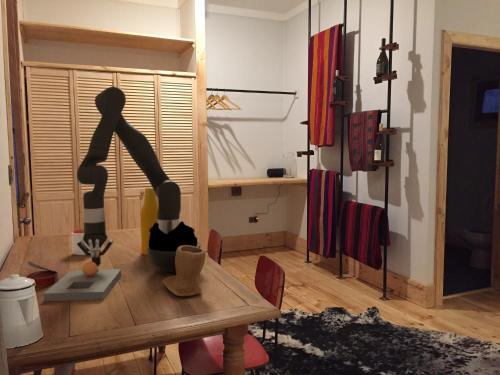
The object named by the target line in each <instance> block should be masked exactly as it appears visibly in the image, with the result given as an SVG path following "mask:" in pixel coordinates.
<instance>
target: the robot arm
mask: <svg viewBox="0 0 500 375" xmlns="http://www.w3.org/2000/svg"><path fill="white" fill-rule="evenodd" d="M126 100H127V98H126V94H125V92H124V91H123V90H122V89H121V88H120V87H117V86H110V87H107V88H105V89H104V90H102V91H101V92H100V93H98V94H97V95H96V96H95V98H94V104H95V107H96V109H97V111H98V113H100V115H101V118H100V120H99V121H98V124H97V126H96V127H95V129H94V132H93V134H92V137H91V138H90V139H91V140H90V143H89V146H88V148H87V149H88V151H87V153H86V154H85V156H84V158H83V160H81V163H80V164H79V166H78V168H77V171H76V178H77V180H78V182H79V183H80V184H82V185H85V186H87V185H89V186H90V185H91V186H93V189H92V190H90V191H89V190H88V191H85V192H84V193H83V195H82V196H83V199H82V201H83V202H82V203H83V213H82V214H83V215H82V216H83V217H82V222H83V229H84V236H83V240H81V241H80V242H78V243H77V245H78V246H79V247H80V249H81V250H82V251H83V252H84V253H85V254H86V255H85V256H89V257H90V258H91V262H94V263H96V265H97V267H99V266H101V264H102V261H101V257H102V256H104V255H105V254H106V253H107V252H108V250H109V249H110V248H111V246H112V245H113V244H114V240H111V239H110V238H109V237H108V235H107V230H106V228H107V227H106V226H107V225H106V224H107V223H106V211H105V192H106V188H107V184H108V179H109V172H108V169H107V168H106V166H104V165H99V164H101V163H105V162H106V161H107V159H108V156H109V151H110V149H111V143H112V140H113V136H114V133H115V135H116V136H117V138H118V139H119V141H120V142H121V143H122V145H123V146H124V147H125V149H126V151H127V153H128V154H129V155H130V157H131V158H132V160H133V161H134V163H135V164H136V165H137V167H138V168H139V169H140V171H141V172H142V173H143V175H145V177H146V178H147V180H148V182H149V184H150V186H151V188H153V190H154V192H155V194H156V198H157V203H158V213H157V223H159V229H160V230H161V231H163V232H164V233H165V234H168V233H169V232H170V231H172V230H173V229H175V228H176V227H177V225H179V223H180V222H181V219H180V218H181V209H182V208H181V207H182V201H181V200H182V194H181V193H182V192H181V188H180V186H179V185H178V183H176V182H175V181H172V180H171V179H170V177H169V176H168V175H167V173H166V172H165V171H164V169H163V167H162V166H161V163H160V161H159V159H158V156H157V154H156V152H155V150H154V148H153V146H152V144H151V142H150V141H149V140H148V138H147V137H146V135H145V134H144V133H143V132H141V130H139V129H138V128H136V127H134V125H132V124H131V123H129V121H127V119H126V118H125V117H124V115H123V114H122V112H123V111H124V108H125V105H126V103H127V102H126ZM85 243H86V244H87V245H88V246H89V248H90V250H89V249H88V248H87V246H86V245H85ZM104 244H105V246H104V248H103V249H102V246H103V245H104Z"/></svg>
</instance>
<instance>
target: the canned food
mask: <svg viewBox="0 0 500 375" xmlns="http://www.w3.org/2000/svg"><path fill="white" fill-rule="evenodd" d="M27 265H29V266H30V267H32V268H35V269H39V270H38V271H35V272H31V273H29V274H27V275H26V279H27V278H31V279H34V280H35V282H36V286H37V287H36V288H40V287H39V286H43V287H48V286H51V285H52V286H53V285H54V284H55V283H57V282H58V281H59V275H58V274H59V273H58V271H57V270H52V269H48V268H45V267H44V266H40V265H39V264H36V263H34V262H32V261H27Z"/></svg>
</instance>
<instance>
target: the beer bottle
mask: <svg viewBox="0 0 500 375" xmlns="http://www.w3.org/2000/svg"><path fill="white" fill-rule="evenodd" d="M143 200H144V202H143V205H142V207H141V209H140V214H139V216H140V218H139V219H140V241H141V243H140V246H141V248H140V251H141V254H142V255H144V256H148V252H147V246H148V245H149V236H150V232H149V230H150V228H151V227H152V226H153V224H154V223H156V222H157V213H158V198H157V196H156V194H155V192H154V190H153V188H152V187H146V188H145V190H144V199H143Z"/></svg>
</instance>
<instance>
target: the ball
mask: <svg viewBox="0 0 500 375" xmlns="http://www.w3.org/2000/svg"><path fill="white" fill-rule="evenodd" d="M98 267H99V266H98ZM98 267H97V265H96V263H94V262H92V260H91V261H86V262H85V263H84V264H83V266H82V268H81V269H82V271H83V273H84V274H85V275H87V276H92V275H94V274H95V273H96V272H97V270H99V269H98Z"/></svg>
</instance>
